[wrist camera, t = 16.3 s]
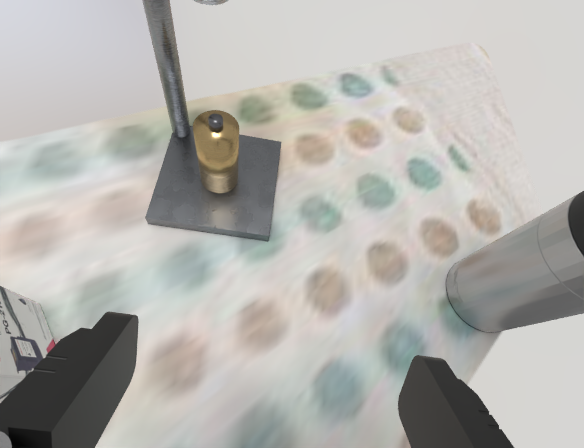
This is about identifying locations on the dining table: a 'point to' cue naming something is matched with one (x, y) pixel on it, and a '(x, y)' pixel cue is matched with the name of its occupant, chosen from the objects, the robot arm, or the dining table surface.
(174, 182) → the stand
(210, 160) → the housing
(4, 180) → the dining table surface
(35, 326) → the ink box
